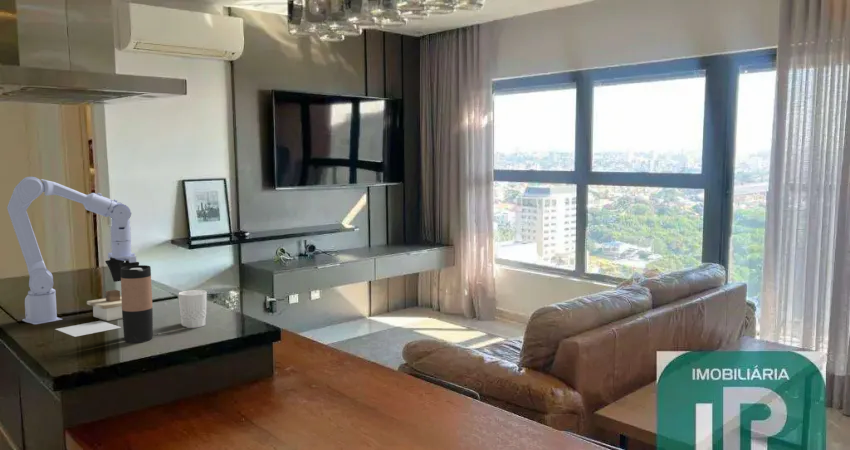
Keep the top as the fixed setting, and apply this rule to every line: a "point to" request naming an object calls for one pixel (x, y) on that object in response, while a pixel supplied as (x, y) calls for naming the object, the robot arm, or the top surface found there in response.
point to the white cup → (193, 308)
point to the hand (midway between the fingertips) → (123, 282)
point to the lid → (108, 300)
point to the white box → (108, 313)
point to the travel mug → (137, 303)
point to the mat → (88, 328)
